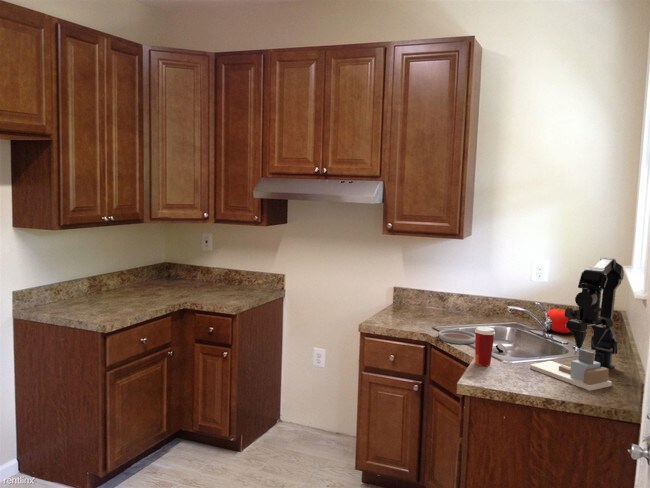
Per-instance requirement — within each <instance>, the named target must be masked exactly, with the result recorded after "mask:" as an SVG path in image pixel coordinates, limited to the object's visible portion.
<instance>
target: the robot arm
mask: <svg viewBox="0 0 650 488" xmlns="http://www.w3.org/2000/svg"><path fill="white" fill-rule="evenodd" d="M624 277H625V271H624V267H623V265H621V264H619V263H618V262H617V260H616V259H614V258H612V257H600V260H599V261H598V262H597V263H596V264H595V265H594V266H593V267H587V268H585V269H584V270H582V272H581V274H580V278H579V282H578V284H577V288H578V289H581V291H580V292H578V293H577V294H576V296H575V298H574V300H575V303H576V305H577V306H578V309H576V310H575V309H574V310H573V308H572V307H570V308H565V309H564V310H565V317H566V318H568V321H567V322H566V328H568V330H570V332H571V333H572V334H573V336H574V339H575V340H574V341H575V345H576V348H577V349H578V350H579V349H582V346H583V345H584V341H585V340H586V335H587V333H588V331H587V330H588V327H591V329H592V330H593V334H592V335H591V339H590V343H591V344H590V347H591V348H590V350H591V351H595V352H594V361H596V362H599V363H600V367H604V368H607V369H609V370H610V369H612V368H615V366H616V365H614V364H613V365H612V361H613V355H616V354H618V352H619V346H618V340H617V338H616V332H615V330H614V328H613V325H614V324H613V323H614V322H613V316H614V310H615V300H616V291H617V289H618V288H619V286H621V284H622V281H623V279H624ZM571 319H574V320H571Z"/></svg>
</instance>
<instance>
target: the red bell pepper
mask: <svg viewBox="0 0 650 488" xmlns="http://www.w3.org/2000/svg"><path fill="white" fill-rule="evenodd" d="M546 313H547V314H548V315H549V317H550V319H551V320H552V321H553V325H552V330H553V332H557V333H559V334H560V333H561V334H567V333H570V332H571V331H570V330H568V328H566V322H567V321H568V318H566V317H565V309H564V308H563V309H562V308H558V307H557V308H551V309H549V310H547V312H546ZM571 320H574V319H571ZM552 330H551V331H552Z"/></svg>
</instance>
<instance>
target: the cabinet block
mask: <svg viewBox="0 0 650 488" xmlns="http://www.w3.org/2000/svg"><path fill="white" fill-rule="evenodd" d="M578 350H579V351H578V359H574V360H571V361H570V367H571V371H570V372H571V375H570V377H572V378H575V379H578V380H580V381H584V371H585V370H589V369H594V368H599V367H600V363H599V362H596V361H594V358H595V352H594V351H592V350H591V351H590V350H587V349H584V348H581V349H579V348H578Z"/></svg>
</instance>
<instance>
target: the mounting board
mask: <svg viewBox="0 0 650 488" xmlns="http://www.w3.org/2000/svg"><path fill="white" fill-rule="evenodd" d="M529 369H531V370H534V371H536V372H539V373H541V374H544V375H547V376H550V377H552V378H554V379H557V380H560V381H563V382H566V383H568V384H571V385H573V386H575V387H579V388H581V389H584V390H586V391H590V392H591V391H594V390H595V391H596V390H599V389H603V388H608V387H612V383H613V381H610V380H609V373H610V372H609V371H610V368H609V369H607V368H604V367H599V368H594V369H589V370H585V371H584V381H580V380H578V379H575V378H572V377H570V375H571V372H570V371H571V366H567V365H564V364H562V363H559V362H556V361H552V360H547V361H543V362H536V363H531V364H529Z"/></svg>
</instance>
